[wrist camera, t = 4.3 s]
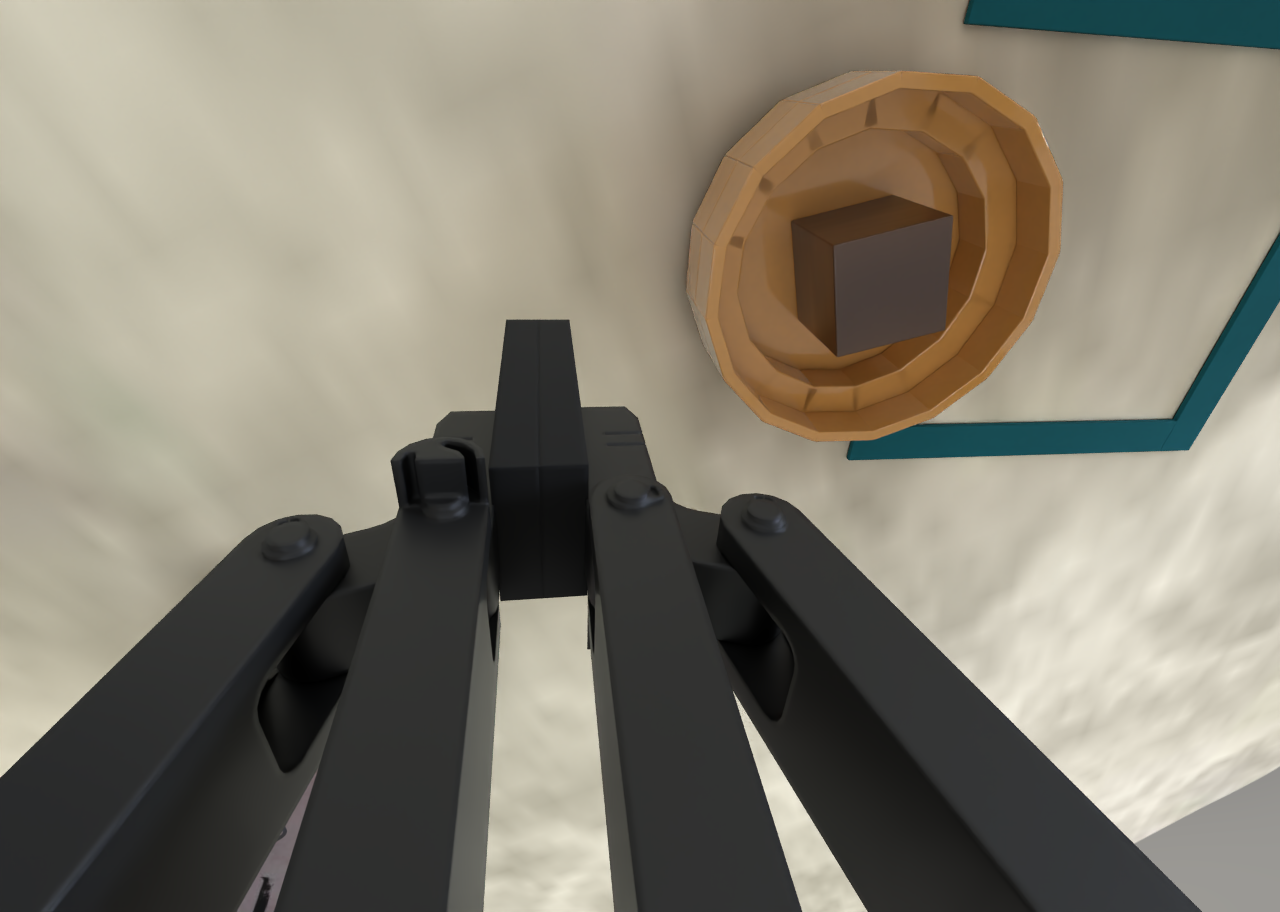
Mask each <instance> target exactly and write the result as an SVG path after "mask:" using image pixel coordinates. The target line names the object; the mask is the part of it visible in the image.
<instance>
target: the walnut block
mask: <svg viewBox="0 0 1280 912" xmlns="http://www.w3.org/2000/svg"><path fill="white" fill-rule="evenodd" d="M791 227H792V242H793V256H794V270H795V284H796V299H797V313H798V320H799V321H800V322H801V323H802V324H803V325H804V326H805V327H806V328H807V329H808V330H809V331H810V332H811V333H812V334H813V335H814V336H815V337H816V338H818V339H819V340H820V341H821V342H822V343H823V344H824V345H825V346H826V347H827V348H828V349H829V350H830V351H831V352H832V353H833V354H834V355H835V356H836V357H841V356H845V355H849V354H853V353H857V352H861V351H865V350H869V349H873V348H877V347H881V346H885V345H889V344H893V343H897V342H901V341H904V340H908V339H912V338H916V337H920V336H924V335H928V334H932V333H936V332H940V331H944V330H945V327H946V313H947V299H948V284H949V270H950V256H951V242H952V227H953V215H950V214H947V213H944V212H942V211H939V210H936V209H933V208H930V207H927V206H924V205H921V204H918V203H916V202H913V201H910V200H907V199H904V198H901V197H898V196H895V195H890V196H886V197H883V198H879V199H875V200H871V201H867V202H863V203H859V204H855V205H851V206H847V207H843V208H839V209H835V210H831V211H827V212H823V213H819V214H815V215H811V216H807V217H804V218H800V219H796V220H792V221H791Z"/></svg>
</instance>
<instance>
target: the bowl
mask: <svg viewBox="0 0 1280 912" xmlns="http://www.w3.org/2000/svg"><path fill="white" fill-rule="evenodd" d="M890 195H895V196H898V197H901V198H904V199H907V200H910V201H913V202H916V203H918V204H921V205H924V206H927V207H930V208H933V209H936V210H939V211H942V212H944V213H947V214H950V215H953V227H952V242H951V256H950V270H949V284H948V299H947V313H946V327H945V330H944V331H940V332H936V333H932V334H928V335H924V336H920V337H916V338H912V339H908V340H904V341H901V342H897V343H893V344H889V345H885V346H881V347H877V348H873V349H869V350H865V351H861V352H857V353H853V354H849V355H845V356H841V357H836V356H835V355H834V354H833V353H832V352H831V351H830V350H829V349H828V348H827V347H826V346H825V345H824V344H823V343H822V342H821V341H820V340H819V339H818V338H816V337H815V336H814V335H813V334H812V333H811V332H810V331H809V330H808V329H807V328H806V327H805V326H804V325H803V324H802V323H801V322H800V321H799V320H798V313H797V299H796V284H795V270H794V256H793V242H792V227H791V221H792V220H796V219H800V218H804V217H807V216H811V215H815V214H819V213H823V212H827V211H831V210H835V209H839V208H843V207H847V206H851V205H855V204H859V203H863V202H867V201H871V200H875V199H879V198H883V197H886V196H890ZM1062 197H1063V181H1062V177H1061V175H1060V172H1059V170H1058V168H1057V165H1056V163H1055V161H1054V158H1053V156H1052V153H1051V151H1050V149H1049V146H1048V144H1047V142H1046V139H1045V137H1044V135H1043V132H1042V130H1041V128H1040V125H1039V123H1038V121H1037V118H1036V117H1035V116H1034V115H1033V114H1031V113H1030V112H1029V111H1027V110H1026V109H1024V108H1023V107H1022V106H1020V105H1019V104H1017V103H1016V102H1015V101H1013V100H1012V99H1010V98H1009V97H1008V96H1006V95H1005V94H1003V93H1002V92H1001V91H999V90H998V89H996V88H995V87H994V86H992V85H991V84H989V83H988V82H986V81H985V80H984V79H982V78H981V77H978V76H973V75H959V74H944V73H929V72H914V71H852V72H848V73H845V74H843V75H841V76H838V77H836V78H833V79H831V80H828V81H826V82H823V83H821V84H819V85H816V86H814V87H811V88H809V89H806V90H804V91H802V92H799V93H797V94H794V95H792V96H789V97H787V98H785V99H783V100H781V101H779V102H778V103H777V104H776V105H775V106H774V107H773V108H772V109H771V110H770V111H769V112H768V113H767V114H766V115H765V116H764V117H763V118H762V119H761V120H760V121H759V122H758V123H757V124H756V125H755V126H754V127H753V128H752V129H751V130H750V131H749V132H748V133H747V134H746V135H744V136H743V137H742V138H741V139H740V140H739V141H738V142H737V143H736V144H735V145H734V146H733V147H732V148H731V149H730V150H729V151H728V152H727V153H726V154H725V156H724V158H723V160H722V162H721V164H720V166H719V168H718V170H717V172H716V174H715V176H714V178H713V180H712V182H711V184H710V186H709V189H708V191H707V193H706V195H705V197H704V199H703V201H702V203H701V205H700V207H699V209H698V211H697V213H696V215H695V218H694V220H693V224H692V229H691V240H690V250H689V261H688V272H687V283H686V289H687V290H686V293H687V296H688V299H689V302H690V305H691V308H692V312H693V315H694V318H695V321H696V324H697V327H698V331H699V334H700V337H701V340H702V343H703V345H704V347H705V349H706V351H707V352H708V354H709V356H710V357H711V359H712V360H713V362H714V364H715V366H716V367H717V369H718V371H719V373H720V374H721V376H722V378H723V379H724V381H725V382H726V383H727V384H728V385H729V386H730V387H731V388H732V390H733V391H734V392H735V393H736V394H737V395H738V396H739V397H740V398H741V399H742V400H743V401H744V402H745V403H746V405H747V406H748V407H749V408H750V409H751V410H752V411H753V412H754V413H755V414H756V415H757V416H758V417H759V418H760V420H761V421H763V422H765V423H768V424H770V425H773V426H775V427H778V428H781V429H783V430H786V431H788V432H791V433H793V434H796V435H799V436H801V437H804V438H806V439H809V440H812V441H816V442H819V441H860V440H875V439H878V438H880V437H883V436H886V435H889V434H891V433H894V432H897V431H899V430H902V429H905V428H908V427H910V426H913V425H916V424H919V423H921V422H924V421H927V420H929V419H932V418H934V417H935V416H937V415H938V414H939V413H941V412H942V411H943V410H945V409H946V408H948V407H949V406H950V405H952V404H953V403H954V402H956V401H957V400H958V399H960V398H961V397H963V396H964V395H965V394H967V393H968V392H969V391H971V390H972V389H973V388H975V387H976V386H977V385H979V384H980V383H982V382H983V381H984V380H986V379H987V377H989V376H990V374H991V373H992V372H993V371H994V369H995V368H996V367H997V366H998V364H999V363H1000V362H1001V360H1002V359H1003V358H1004V357H1005V355H1006V354H1007V353H1008V352H1009V350H1010V349H1011V348H1012V346H1013V345H1014V344H1015V343H1016V341H1017V340H1018V339H1019V338H1020V336H1021V335H1022V334H1023V333H1024V331H1025V330H1026V329H1027V327H1028V326H1029V325H1030V324H1031V322H1032V320H1033V319H1034V316H1035V314H1036V311H1037V309H1038V306H1039V304H1040V301H1041V299H1042V296H1043V294H1044V291H1045V289H1046V286H1047V284H1048V281H1049V279H1050V277H1051V274H1052V272H1053V269H1054V267H1055V264H1056V262H1057V259H1058V257H1059V254H1060V246H1061V221H1062Z"/></svg>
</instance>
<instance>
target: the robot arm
mask: <svg viewBox="0 0 1280 912" xmlns="http://www.w3.org/2000/svg"><path fill="white" fill-rule="evenodd" d="M391 466H392V471H393V476H394V482H395V487H396V492H397V497H398V503H399V510H398V513H397V516H396V518H395V519H393V520H391V521H388V522H386V523H384V524H381V525H378V526H375V527H372V528H368V529H364V530H360V531H356V532H352V533H348V534H344V535H343V533H342V530H341V526H340V525H339V524H338V523H337V522H335V521H334V520H333V519H332V518H328V517H324V516H321V515H317V514H316V515H295V516H290V517H285V518H282V519H278V520H275V521H273V522H271V523H268V524H266V525H264V526H262V527H259V528H258V529H257V530H255V531H254V532H252V533H251V534H250V535H248V536H247V537H246V538H244V539H243V540H242V541H241V542H240V543H239V544H238V545H237V546H236V547H235V548H234V549H233V550H232V551H231V552H230V553H229V554H228V555H227V556H226V557H225V558H224V559H223V560H222V561H221V562H220V563H219V564H218V565H217V566H216V567H215V568H214V569H213V570H212V571H211V572H210V573H209V574H208V575H207V576H206V577H205V578H204V579H203V580H202V581H201V582H200V583H199V584H197V585H196V586H195V587H194V588H193V589H192V590H191V591H190V592H189V593H188V594H187V595H186V596H185V597H184V598H183V599H182V600H181V601H180V602H179V603H178V604H177V605H176V606H175V607H174V608H173V609H172V610H171V611H170V612H169V613H168V614H167V615H166V616H165V617H164V618H163V619H162V620H161V621H160V622H159V623H158V624H157V625H156V626H155V627H154V628H153V629H152V630H151V631H150V632H149V633H148V634H147V635H146V636H145V637H143V638H142V639H141V640H140V641H139V642H138V643H137V644H136V645H135V646H134V647H133V648H132V649H131V650H130V651H129V652H128V653H127V654H126V655H125V656H124V657H123V658H122V659H121V660H120V661H119V662H118V663H117V664H116V665H115V666H114V667H113V668H112V669H111V670H110V671H109V672H108V673H107V674H106V675H105V676H104V677H103V678H102V679H101V680H100V681H99V682H98V683H97V684H96V685H95V686H94V687H93V688H92V689H91V690H89V691H88V692H87V693H86V694H85V695H84V696H83V697H82V698H81V699H80V700H79V701H78V702H77V703H76V704H75V705H74V706H73V707H72V708H71V709H70V710H69V711H68V712H67V713H66V714H65V715H64V716H63V717H62V718H61V719H60V720H59V721H58V722H57V723H56V724H55V725H54V726H53V727H52V728H51V729H50V730H49V731H48V732H47V733H46V734H45V735H44V736H43V737H42V738H41V739H40V740H39V741H38V742H37V743H35V744H34V745H33V746H32V747H31V748H30V749H29V750H28V751H27V752H26V753H25V754H24V755H23V756H22V757H21V758H20V759H19V760H18V761H17V762H16V763H15V764H14V765H13V766H12V767H11V768H10V769H9V770H8V771H7V772H6V773H5V774H4V775H3V776H2V777H1V778H0V912H237V910H238V908H239V907H240V905H241V903H242V901H243V900H244V898H245V896H246V894H247V893H248V891H249V889H250V887H251V885H252V884H253V882H254V880H255V878H256V877H257V875H258V873H259V871H260V870H261V868H262V866H263V864H264V863H265V861H266V859H267V857H268V856H269V854H270V852H271V850H272V849H273V847H274V845H275V843H276V842H277V840H278V838H279V836H280V835H281V833H282V831H283V829H284V827H285V826H286V824H287V822H288V820H289V819H290V817H291V815H292V813H293V812H294V810H295V808H296V806H297V805H298V803H299V801H300V799H301V798H302V796H303V794H304V792H305V791H306V789H307V787H308V785H309V784H310V782H311V780H312V778H313V777H314V775H315V773H316V771H317V769H318V771H317V774H316V777H315V780H314V784H313V787H312V790H311V793H310V796H309V800H308V803H307V806H306V809H305V813H304V816H303V819H302V822H301V825H300V829H299V832H298V835H297V838H296V842H295V845H294V848H293V851H292V854H291V858H290V861H289V864H288V867H287V871H286V874H285V877H284V880H283V883H282V887H281V890H280V893H279V896H278V899H277V903H276V906H275V909H274V912H483V907H484V890H485V874H486V857H487V841H488V824H489V808H490V791H491V775H492V759H493V742H494V726H495V709H496V693H497V676H498V660H499V644H500V627H501V623H500V612H499V590H500V600H501V601H507V600H523V599H538V598H554V597H569V596H585V595H587V590H588V642H587V649H591V659H592V670H593V681H594V692H595V703H596V715H597V726H598V737H599V748H600V759H601V770H602V781H603V792H604V803H605V814H606V825H607V836H608V847H609V858H610V869H611V880H612V891H613V902H614V912H802V910H801V906H800V903H799V900H798V897H797V894H796V891H795V887H794V884H793V881H792V878H791V875H790V871H789V868H788V865H787V862H786V859H785V856H784V852H783V849H782V846H781V843H780V840H779V837H778V833H777V830H776V827H775V824H774V821H773V817H772V814H771V811H770V808H769V805H768V802H767V798H766V795H765V792H764V789H763V786H762V783H761V779H760V776H759V773H758V770H757V767H756V763H755V760H754V757H753V754H752V751H751V748H750V744H749V741H748V738H747V735H746V732H745V729H744V725H743V722H742V719H741V716H740V713H739V709H738V706H737V703H736V700H735V697H734V694H733V691H734V693H735V695H736V696H737V698H738V700H739V701H740V703H741V705H742V706H743V708H744V709H745V711H746V713H747V714H748V716H749V718H750V719H751V721H752V723H753V724H754V726H755V727H756V729H757V731H758V732H759V734H760V736H761V737H762V739H763V741H764V742H765V744H766V746H767V747H768V749H769V750H770V752H771V754H772V755H773V757H774V759H775V760H776V762H777V764H778V765H779V767H780V768H781V770H782V772H783V773H784V775H785V777H786V778H787V780H788V782H789V783H790V785H791V786H792V788H793V790H794V791H795V793H796V795H797V796H798V798H799V800H800V801H801V803H802V805H803V806H804V808H805V809H806V811H807V813H808V814H809V816H810V818H811V819H812V821H813V823H814V824H815V826H816V827H817V829H818V831H819V832H820V834H821V836H822V837H823V839H824V841H825V842H826V844H827V846H828V847H829V849H830V850H831V852H832V854H833V855H834V857H835V859H836V860H837V862H838V864H839V865H840V867H841V868H842V870H843V872H844V873H845V875H846V877H847V878H848V880H849V882H850V883H851V885H852V887H853V888H854V890H855V891H856V893H857V895H858V896H859V898H860V900H861V901H862V903H863V905H864V906H865V908H866V909H867V911H868V912H1202V911H1201V910H1200V909H1199V908H1198V907H1197V906H1195V904H1194V903H1193V902H1192V901H1191V900H1190V899H1189V898H1188V897H1187V896H1185V894H1183V892H1182V891H1181V890H1180V889H1179V888H1178V887H1176V885H1175V884H1174V883H1173V882H1172V881H1171V880H1170V879H1168V877H1167V876H1166V875H1165V874H1164V873H1163V872H1162V871H1161V870H1160V869H1159V868H1158V867H1157V866H1156V865H1155V864H1154V863H1152V861H1151V860H1149V858H1147V856H1146V855H1145V854H1144V853H1143V852H1142V851H1141V850H1139V848H1138V847H1137V846H1135V844H1134V843H1133V842H1132V841H1131V840H1130V839H1129V838H1128V837H1127V836H1125V835H1124V834H1123V833H1122V832H1121V831H1120V830H1119V829H1118V828H1117V827H1116V826H1115V825H1114V824H1113V823H1112V822H1111V821H1110V820H1109V819H1108V818H1107V817H1106V816H1105V815H1104V814H1103V813H1102V812H1101V811H1100V810H1099V809H1098V808H1097V807H1096V806H1095V805H1094V804H1093V803H1092V802H1091V801H1090V800H1089V799H1088V798H1087V797H1086V796H1085V795H1084V794H1083V793H1082V792H1081V791H1080V790H1079V789H1078V788H1077V787H1076V786H1075V785H1074V784H1073V783H1072V782H1071V781H1070V780H1069V779H1068V778H1067V777H1066V776H1065V775H1064V774H1063V773H1062V772H1061V771H1060V770H1059V769H1058V768H1057V767H1056V766H1055V765H1054V764H1053V763H1052V762H1051V761H1050V760H1049V759H1048V758H1047V757H1046V756H1045V755H1044V754H1043V753H1042V752H1041V751H1040V750H1039V749H1038V748H1037V747H1036V746H1035V745H1034V744H1033V743H1032V742H1031V741H1030V740H1029V739H1028V738H1027V737H1026V736H1025V735H1024V734H1023V733H1022V732H1021V731H1020V730H1019V729H1018V728H1017V727H1016V726H1015V725H1014V724H1013V723H1012V722H1011V721H1010V720H1009V719H1008V718H1007V717H1006V716H1005V715H1004V714H1003V713H1002V712H1001V711H1000V710H999V709H998V708H997V707H996V706H995V705H994V704H993V703H992V702H991V701H990V700H989V699H988V698H987V697H986V696H985V695H984V694H983V693H982V692H981V691H980V690H979V689H978V688H977V687H976V686H975V685H974V684H973V683H972V682H971V681H970V680H969V679H968V678H967V677H966V676H965V675H964V674H963V673H962V672H961V671H960V670H959V669H958V668H957V667H956V666H955V665H954V664H953V663H952V662H951V661H950V660H949V659H948V658H947V657H946V656H945V655H944V654H943V653H942V652H941V651H940V650H939V649H938V648H937V647H936V646H935V645H934V644H933V643H932V642H931V641H930V640H929V639H928V638H927V637H926V636H925V635H924V634H923V633H922V632H921V631H920V630H919V629H918V628H917V627H916V626H915V625H914V624H913V623H912V622H911V621H910V620H909V619H908V618H907V617H906V616H905V615H904V614H903V613H902V612H901V611H900V610H899V609H898V608H897V607H896V606H895V605H894V604H893V603H892V602H891V601H890V600H889V599H888V598H887V597H886V596H885V595H884V594H883V593H882V592H881V591H880V590H879V589H878V588H877V587H876V586H875V585H874V584H873V583H872V582H871V581H870V580H869V579H868V578H867V577H866V576H865V575H864V574H863V573H862V572H861V571H860V570H859V569H858V568H857V567H856V566H855V565H854V564H853V563H852V562H851V561H850V560H849V559H848V558H847V557H846V556H845V555H844V554H843V553H842V552H841V551H840V550H839V549H838V548H837V547H836V546H835V545H834V544H833V543H832V542H831V541H830V540H829V539H828V538H827V537H826V536H825V535H824V534H823V533H822V532H821V531H820V530H819V529H818V528H817V527H816V526H815V525H814V524H813V523H812V522H811V521H810V520H809V519H808V518H807V517H806V516H805V515H804V514H803V513H802V512H800V511H799V510H798V509H797V508H795V507H794V506H793V505H791V504H790V503H789V502H787V501H784V500H782V499H779V498H777V497H774V496H770V495H764V494H758V493H754V494H741V495H739V496H736V497H733V498H730V499H729V500H728V501H727V502H726V503H725V504H724V505H723V506H722V510H721V515H720V514H714V513H708V512H702V511H697V510H693V509H689V508H686V507H683V506H681V505H678V504H676V503H674V502H673V500H672V497H671V494H670V493H669V491H668V490H667V488H666V487H665V486H664V485H662V484H661V483H659V482H657V481H656V477H655V474H654V471H653V467H652V464H651V460H650V457H649V454H648V450H647V447H646V445H645V440H644V437H643V434H642V430H641V427H640V423H639V420H638V418H637V417H636V416H635V415H634V414H633V413H632V412H630V411H629V410H628V409H627V408H626V407H581V404H580V396H579V389H578V381H577V374H576V367H575V359H574V352H573V344H572V337H571V329H570V322H569V320H506V327H505V335H504V343H503V351H502V359H501V368H500V376H499V384H498V392H497V401H496V409H495V411H459V412H450V413H449V414H448V415H447V416H446V417H444V418H443V419H442V420H441V421H440V422H439V423H438V424H437V425H436V429H435V432H434V436H433V438H429V439H424V440H421V441H418V442H415V443H412V444H409V445H408V446H406V447H404V448H403V449H401V450H399V451H398V452H397V453H396V454H395V456H394V457H393V458H392V460H391Z"/></svg>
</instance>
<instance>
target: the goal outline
mask: <svg viewBox="0 0 1280 912" xmlns="http://www.w3.org/2000/svg"><path fill="white" fill-rule="evenodd" d="M964 24H970V25H983V26H995V27H1008V28H1020V29H1033V30H1045V31H1058V32H1070V33H1083V34H1095V35H1108V36H1120V37H1133V38H1145V39H1157V40H1170V41H1182V42H1195V43H1207V44H1220V45H1232V46H1245V47H1257V48H1270V49H1280V0H970V1H969V5H968V9H967V13H966V16H965V20H964ZM1279 301H1280V234H1279V236H1278V238H1277V239H1276V241H1275V243H1274V244H1273V246H1272V248H1271V250H1270V251H1269V253H1268V255H1267V257H1266V258H1265V260H1264V262H1263V264H1262V265H1261V267H1260V269H1259V270H1258V272H1257V274H1256V276H1255V277H1254V279H1253V281H1252V283H1251V284H1250V286H1249V288H1248V290H1247V291H1246V293H1245V295H1244V296H1243V298H1242V300H1241V302H1240V303H1239V305H1238V307H1237V309H1236V310H1235V312H1234V314H1233V316H1232V317H1231V319H1230V321H1229V323H1228V324H1227V326H1226V328H1225V329H1224V331H1223V333H1222V335H1221V336H1220V338H1219V340H1218V342H1217V343H1216V345H1215V347H1214V349H1213V350H1212V352H1211V354H1210V355H1209V357H1208V359H1207V361H1206V362H1205V364H1204V366H1203V368H1202V369H1201V371H1200V373H1199V375H1198V376H1197V378H1196V380H1195V381H1194V383H1193V385H1192V387H1191V388H1190V390H1189V392H1188V394H1187V395H1186V397H1185V399H1184V401H1183V402H1182V404H1181V406H1180V407H1179V409H1178V411H1177V413H1176V414H1175V416H1174V418H1173V419H1161V420H1113V421H1066V422H1019V423H972V424H925V425H913V426H910V427H908V428H905V429H902V430H899V431H897V432H894V433H891V434H889V435H886V436H883V437H880V438H878V439H875V440H860V441H851V443H850V446H849V450H848V454H847V459H848V460H874V459H908V458H942V457H976V456H1009V455H1043V454H1077V453H1111V452H1144V451H1178V450H1189V449H1190V447H1191V446H1192V444H1193V442H1194V441H1195V439H1196V437H1197V436H1198V434H1199V432H1200V431H1201V429H1202V428H1203V426H1204V424H1205V423H1206V421H1207V419H1208V418H1209V416H1210V414H1211V413H1212V411H1213V410H1214V408H1215V406H1216V405H1217V403H1218V401H1219V400H1220V398H1221V396H1222V395H1223V393H1224V391H1225V390H1226V388H1227V387H1228V385H1229V383H1230V382H1231V380H1232V378H1233V377H1234V375H1235V373H1236V372H1237V370H1238V369H1239V367H1240V365H1241V364H1242V362H1243V360H1244V359H1245V357H1246V355H1247V354H1248V352H1249V351H1250V349H1251V347H1252V346H1253V344H1254V342H1255V341H1256V339H1257V337H1258V336H1259V334H1260V333H1261V331H1262V329H1263V328H1264V326H1265V324H1266V323H1267V321H1268V319H1269V318H1270V316H1271V315H1272V313H1273V311H1274V310H1275V308H1276V306H1277V305H1278V303H1279Z"/></svg>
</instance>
